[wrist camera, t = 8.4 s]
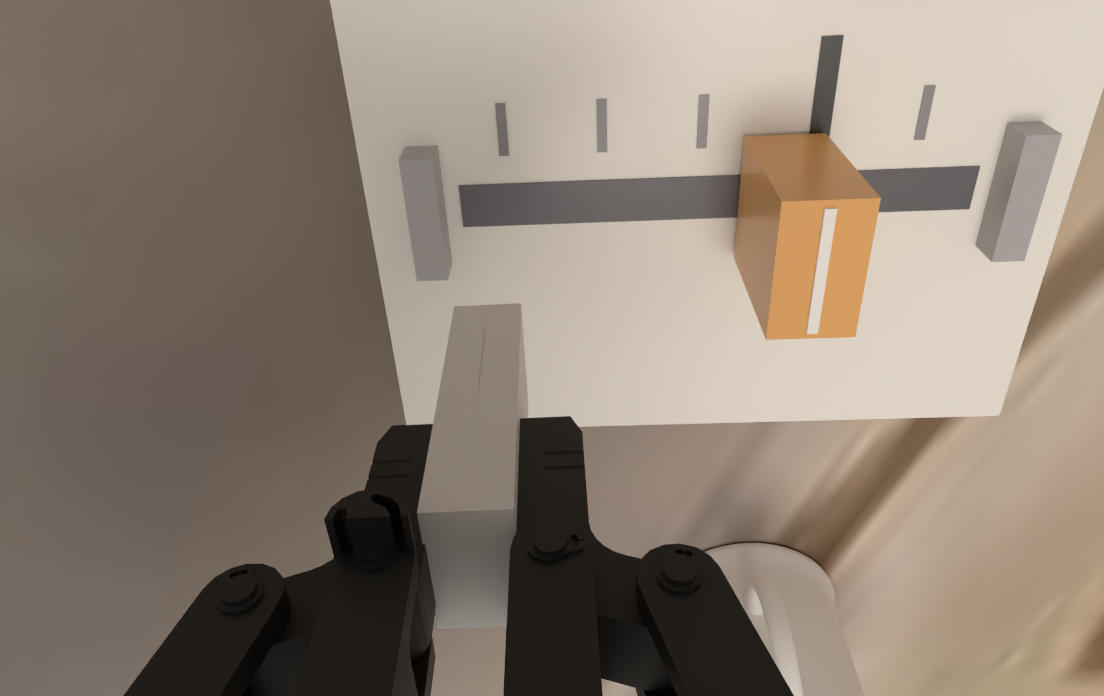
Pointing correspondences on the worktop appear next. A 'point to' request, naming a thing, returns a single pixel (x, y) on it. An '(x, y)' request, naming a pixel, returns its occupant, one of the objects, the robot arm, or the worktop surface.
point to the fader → (803, 235)
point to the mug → (792, 616)
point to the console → (714, 191)
